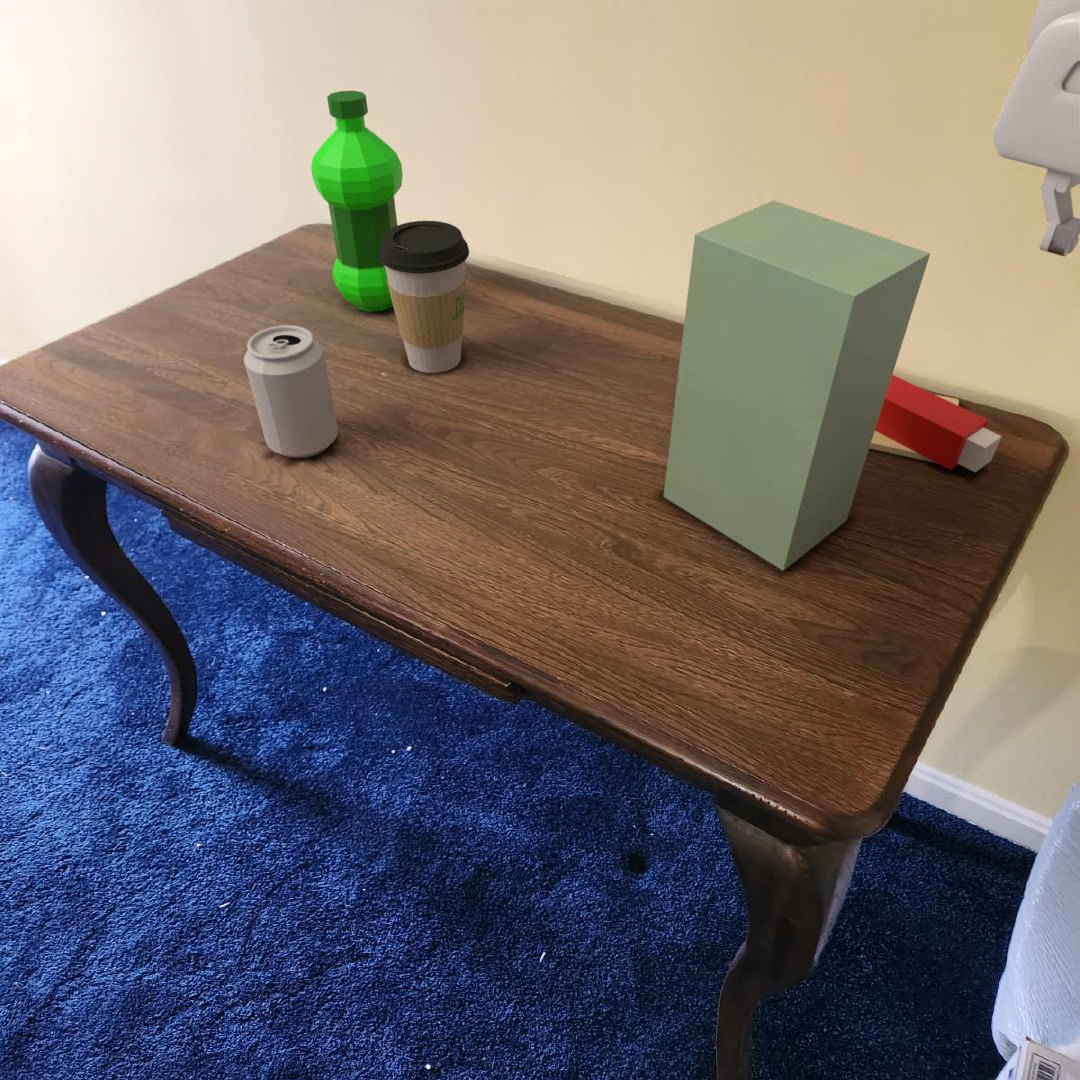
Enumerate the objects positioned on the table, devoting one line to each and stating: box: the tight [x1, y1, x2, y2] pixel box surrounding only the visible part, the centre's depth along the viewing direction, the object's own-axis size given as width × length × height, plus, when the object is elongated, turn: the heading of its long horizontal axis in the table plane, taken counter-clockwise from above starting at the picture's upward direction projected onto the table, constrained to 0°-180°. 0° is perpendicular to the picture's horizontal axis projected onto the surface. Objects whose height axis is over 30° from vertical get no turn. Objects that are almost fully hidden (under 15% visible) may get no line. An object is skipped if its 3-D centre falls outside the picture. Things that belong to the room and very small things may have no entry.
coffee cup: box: [379, 220, 470, 374], centre depth 97 cm, size 10×10×15 cm
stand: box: [662, 200, 931, 572], centre depth 73 cm, size 14×10×26 cm
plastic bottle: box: [310, 90, 403, 313], centre depth 105 cm, size 10×10×25 cm
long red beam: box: [875, 374, 1003, 473], centre depth 90 cm, size 24×4×4 cm, turn 39°
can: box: [243, 324, 339, 459], centre depth 86 cm, size 8×8×12 cm
